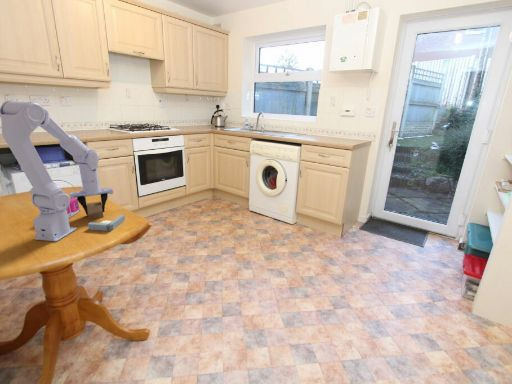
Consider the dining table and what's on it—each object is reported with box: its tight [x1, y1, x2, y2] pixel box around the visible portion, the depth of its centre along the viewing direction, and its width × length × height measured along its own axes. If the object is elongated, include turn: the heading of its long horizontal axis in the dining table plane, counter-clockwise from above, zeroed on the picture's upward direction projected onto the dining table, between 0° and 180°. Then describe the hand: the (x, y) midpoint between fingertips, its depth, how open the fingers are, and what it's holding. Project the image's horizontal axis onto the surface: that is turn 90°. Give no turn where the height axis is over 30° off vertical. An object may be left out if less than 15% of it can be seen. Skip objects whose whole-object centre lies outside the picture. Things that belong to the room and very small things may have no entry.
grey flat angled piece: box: [87, 214, 126, 232], centre depth 104 cm, size 10×8×2 cm
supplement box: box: [66, 197, 81, 220], centre depth 108 cm, size 6×6×12 cm
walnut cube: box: [86, 200, 104, 220], centre depth 110 cm, size 5×5×5 cm
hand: (95, 212), depth 111 cm, fingers closed on walnut cube, 5 cm apart
